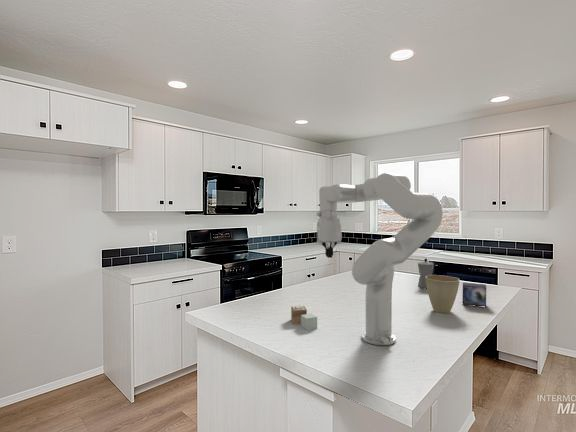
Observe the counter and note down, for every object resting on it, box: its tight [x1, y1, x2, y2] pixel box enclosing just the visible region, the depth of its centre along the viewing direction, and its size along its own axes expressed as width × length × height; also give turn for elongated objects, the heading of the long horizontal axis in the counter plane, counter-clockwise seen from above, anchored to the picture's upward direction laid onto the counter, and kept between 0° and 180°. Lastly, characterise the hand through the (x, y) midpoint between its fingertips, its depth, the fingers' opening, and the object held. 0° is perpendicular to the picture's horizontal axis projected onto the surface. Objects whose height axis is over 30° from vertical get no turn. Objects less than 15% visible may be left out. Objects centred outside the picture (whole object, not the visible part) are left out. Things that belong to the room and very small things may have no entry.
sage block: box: [300, 313, 318, 331], centre depth 139 cm, size 5×5×5 cm
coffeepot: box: [417, 258, 437, 289], centre depth 209 cm, size 15×9×18 cm, turn 118°
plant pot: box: [426, 274, 460, 314], centre depth 160 cm, size 15×15×16 cm
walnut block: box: [290, 305, 308, 325], centre depth 146 cm, size 6×6×6 cm
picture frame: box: [462, 282, 487, 308], centre depth 169 cm, size 11×6×10 cm, turn 62°
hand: (329, 257), depth 144 cm, fingers closed
